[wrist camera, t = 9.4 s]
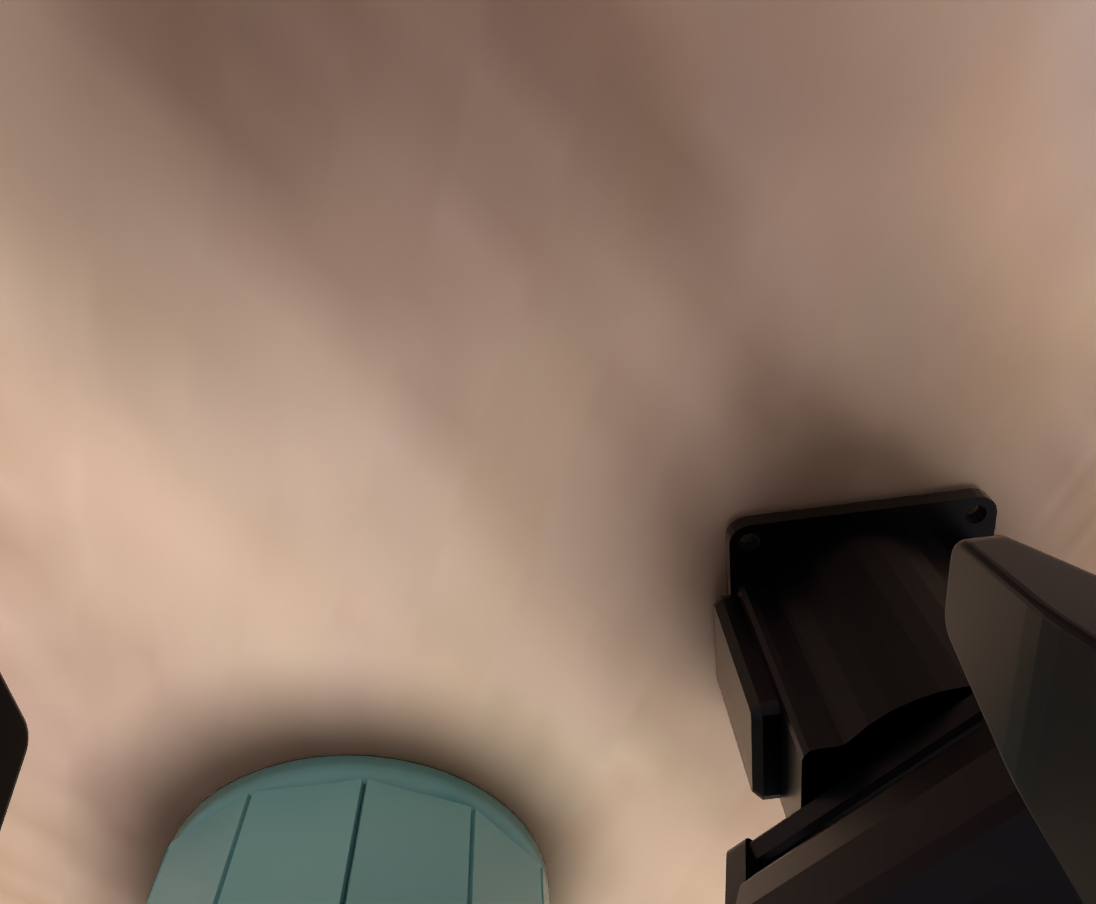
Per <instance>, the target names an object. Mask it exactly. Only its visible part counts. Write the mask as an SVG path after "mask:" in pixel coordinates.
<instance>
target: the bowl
mask: <svg viewBox="0 0 1096 904" xmlns="http://www.w3.org/2000/svg"><path fill="white" fill-rule="evenodd" d="M145 904H549V889H548V876H547V870H546V866H545V862H544V859H543V855H542V853H541V851H540V849H539V847H538V845H537V843H536V841H535V839H534V838H533V836H532V835H531V834H530V832H529V831H528V829H527V828H526V827H525V825H524V824H523V823H522V822H521V821H520V820H519V819H518V818H517V817H516V816H515V815H514V814H513V813H512V812H511V811H510V810H509V809H508V808H507V807H506V806H504V805H503V804H502V803H500V802H499V801H498V800H497V799H495V798H494V797H493V796H491V795H490V794H488V793H486V792H485V791H483V790H481V789H480V788H478V787H476V786H475V785H473V784H471V783H469V782H467V781H464V780H462V779H460V778H458V777H456V776H453V775H451V774H449V773H446V772H443V771H440V770H437V769H434V768H431V767H428V766H425V765H421V764H416V763H411V762H407V761H402V760H398V759H390V758H382V757H373V756H348V755H339V756H325V757H313V758H307V759H301V760H295V761H290V762H285V763H282V764H278V765H275V766H271V767H267V768H264V769H261V770H259V771H256V772H254V773H251V774H249V775H246V776H244V777H241V778H239V779H237V780H235V781H234V782H232V783H230V784H228V785H226V786H225V787H223V788H221V789H219V790H218V791H216V792H215V793H214V794H212V795H211V796H210V797H208V798H207V799H206V800H204V801H203V802H202V803H201V804H200V805H199V806H198V807H197V808H196V809H195V810H194V811H193V812H192V813H191V814H190V815H189V816H188V817H187V818H186V819H185V821H184V822H183V824H182V825H181V827H180V828H179V829H178V831H177V832H176V834H175V836H174V839H173V841H172V842H171V844H170V845H168V848H167V850H166V853H165V855H164V858H163V860H162V863H161V865H160V868H159V871H158V873H157V876H156V878H155V881H154V883H153V886H152V888H151V891H150V893H149V896H148V898H147V901H146V903H145Z"/></svg>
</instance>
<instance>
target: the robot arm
mask: <svg viewBox="0 0 1096 904" xmlns="http://www.w3.org/2000/svg"><path fill="white" fill-rule="evenodd" d="M975 506H978V509H977V510H976V511H975V512H974V513H972V514H970V515H966V513H967V511H968V510H969V509H971V508H972V507H975ZM996 515H997V509H996V505H995V503H994V502H993V501H992V499H991V498H990V497H989V496H988V495H987V494H986V493H985V492H983V491H981V490H979V489H964V490H956V491H948V492H940V493H932V494H924V495H916V496H908V497H900V498H892V499H884V500H875V501H867V502H859V503H851V504H843V505H835V506H827V507H819V508H811V509H803V510H795V511H787V512H778V513H770V514H762V515H754V516H746V517H742V518H739V519H737V520H735V521H734V522H732V523H731V524H730V526H729V527H728V529H727V532H726V562H727V593H728V595H727V596H721V597H720V598H719V600H718V601H717V602H716V603H715V605H714V622H715V646H716V670H717V679H718V683H719V686H720V689H721V692H722V696H723V699H724V702H725V706H726V709H727V712H728V715H729V719H730V722H731V725H732V728H733V732H734V735H735V738H736V741H737V745H738V748H739V751H740V754H741V758H742V761H743V764H744V768H745V771H746V774H747V777H748V781H749V784H750V787H751V790H752V792H754V793H755V794H756V795H757V796H759V797H760V798H761V799H763V800H765V799H773V798H780V801H781V803H782V806H783V809H784V812H785V815H786V819H784V820H783V821H781V822H780V823H778V824H777V825H775V826H774V827H772V828H771V829H769V830H768V831H766V832H765V833H763V834H762V835H760V836H759V837H757V838H756V839H754V840H753V841H752V840H751V839H749V838H747V839H745V840H744V841H742V842H741V843H739V844H738V845H736V846H735V847H733V848H732V849H730V850H729V851H727V859H726V895H725V904H1096V575H1094V574H1092V573H1089V572H1087V571H1085V570H1082V569H1080V568H1078V567H1075V566H1073V565H1071V564H1068V563H1066V562H1064V561H1062V560H1059V559H1057V558H1055V557H1052V556H1050V555H1048V554H1045V553H1043V552H1041V551H1038V550H1036V549H1034V548H1031V547H1029V546H1027V545H1024V544H1022V543H1020V542H1017V541H1015V540H1013V539H1010V538H1008V537H1005V536H999V535H996V536H994V530H995V522H996ZM747 534H755V537H754V538H753V539H752V540H751V541H749V542H740V539H741V538H742V537H743V536H744V535H747ZM27 746H28V728H27V724H26V721H25V719H24V717H23V715H22V713H21V711H20V709H19V707H18V705H17V703H16V702H15V700H14V698H13V696H12V694H11V692H10V690H9V688H8V686H7V684H6V682H5V680H4V679H3V677H2V675H1V673H0V830H1V827H2V824H3V821H4V818H5V815H6V812H7V809H8V806H9V803H10V800H11V797H12V793H13V790H14V787H15V784H16V781H17V778H18V775H19V772H20V769H21V766H22V763H23V760H24V757H25V754H26V751H27Z"/></svg>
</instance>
